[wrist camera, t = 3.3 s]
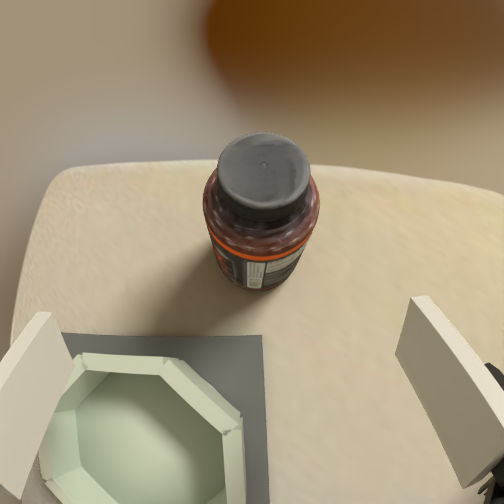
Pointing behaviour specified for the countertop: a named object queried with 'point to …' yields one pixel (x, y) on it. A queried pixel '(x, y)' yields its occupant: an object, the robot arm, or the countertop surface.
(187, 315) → the countertop surface
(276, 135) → the supplement bottle
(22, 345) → the robot arm
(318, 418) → the countertop surface
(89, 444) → the bowl
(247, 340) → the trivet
